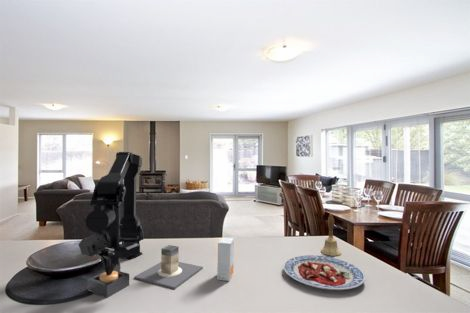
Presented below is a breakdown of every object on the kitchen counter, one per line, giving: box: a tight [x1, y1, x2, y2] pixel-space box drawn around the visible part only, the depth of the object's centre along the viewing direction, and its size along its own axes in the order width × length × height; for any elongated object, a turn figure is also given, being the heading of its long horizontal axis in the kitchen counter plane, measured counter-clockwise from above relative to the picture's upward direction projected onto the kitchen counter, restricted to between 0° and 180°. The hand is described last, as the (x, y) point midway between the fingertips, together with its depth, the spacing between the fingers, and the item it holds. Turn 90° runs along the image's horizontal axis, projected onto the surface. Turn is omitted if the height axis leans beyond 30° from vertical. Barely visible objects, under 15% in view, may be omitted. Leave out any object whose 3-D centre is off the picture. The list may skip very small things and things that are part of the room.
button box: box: [86, 269, 130, 299], centre depth 79 cm, size 8×8×4 cm
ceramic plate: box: [283, 254, 366, 291], centre depth 89 cm, size 26×26×3 cm
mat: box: [133, 261, 204, 290], centre depth 89 cm, size 16×16×1 cm
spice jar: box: [160, 244, 180, 275], centre depth 89 cm, size 4×4×8 cm
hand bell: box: [320, 213, 342, 257], centre depth 111 cm, size 8×8×16 cm
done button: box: [100, 270, 118, 283], centre depth 79 cm, size 5×5×2 cm
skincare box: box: [216, 237, 235, 282], centre depth 87 cm, size 6×4×12 cm
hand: (109, 274), depth 79 cm, fingers closed, pressing on done button
